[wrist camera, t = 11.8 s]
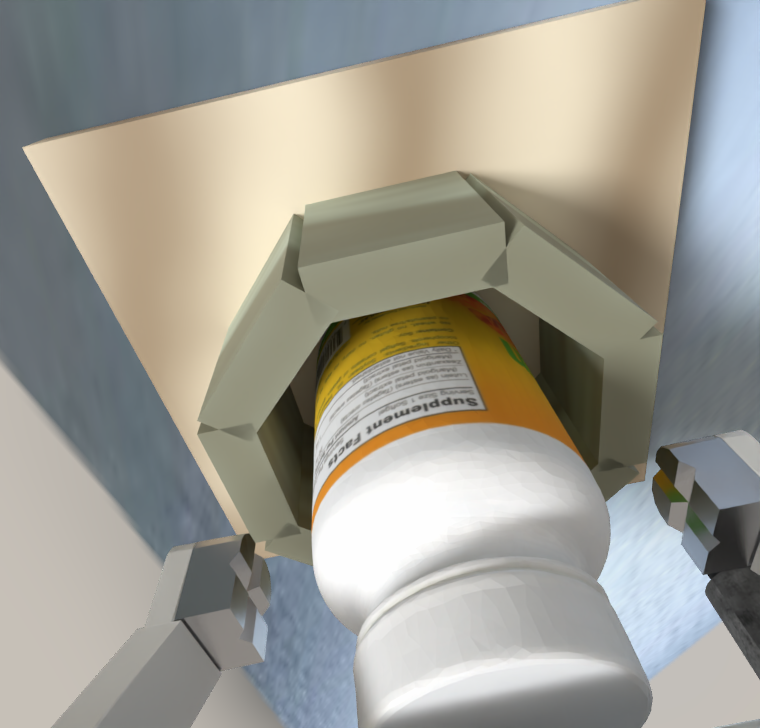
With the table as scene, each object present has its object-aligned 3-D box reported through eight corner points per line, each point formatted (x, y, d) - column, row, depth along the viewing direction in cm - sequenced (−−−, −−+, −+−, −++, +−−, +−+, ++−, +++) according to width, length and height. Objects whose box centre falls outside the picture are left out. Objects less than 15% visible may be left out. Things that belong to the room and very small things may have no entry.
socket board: (675, -11, 12) (883, -40, 7) (628, 458, 20) (713, 577, 15) (47, 138, 12) (-110, 195, 8) (255, 535, 20) (235, 671, 16)
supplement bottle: (515, 395, 16) (708, 765, 8) (354, 445, 17) (382, 839, 8) (478, 239, 13) (725, 572, 5) (286, 307, 14) (227, 704, 6)
